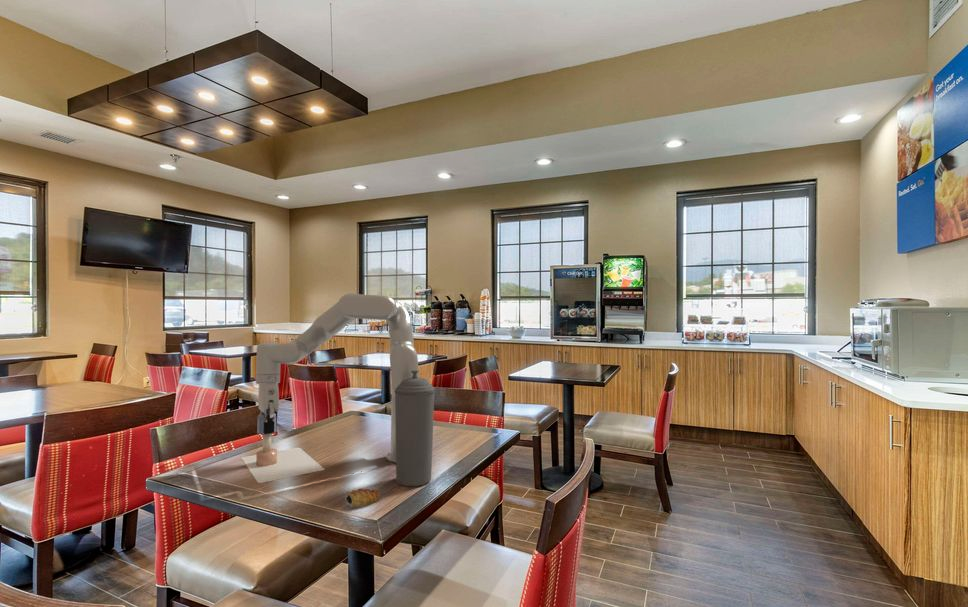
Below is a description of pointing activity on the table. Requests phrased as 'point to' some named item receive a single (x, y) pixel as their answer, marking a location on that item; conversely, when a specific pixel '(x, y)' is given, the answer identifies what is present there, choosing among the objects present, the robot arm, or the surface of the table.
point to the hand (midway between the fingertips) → (266, 430)
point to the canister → (414, 430)
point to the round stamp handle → (266, 453)
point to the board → (283, 465)
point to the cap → (261, 423)
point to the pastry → (362, 497)
